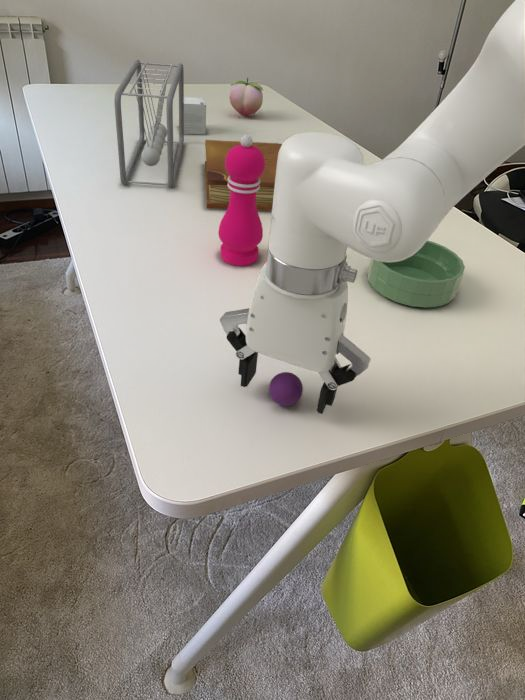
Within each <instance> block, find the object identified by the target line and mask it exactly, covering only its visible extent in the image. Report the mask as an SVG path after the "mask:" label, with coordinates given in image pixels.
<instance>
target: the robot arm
mask: <svg viewBox="0 0 525 700" xmlns="http://www.w3.org/2000/svg"><path fill="white" fill-rule="evenodd" d="M281 144H282V146H281V148H280V150H279V153H278V159H277V167H276V177H275V186H274V196H273V206H272V211H271V217H270V226H269V227H270V228H269V236H268V247H267V256H266V262H265V263H264V264H263V265H262V268H261V269H260V270H259V274H258V276H257V278H256V282H255V285H254V289H253V292H252V295H251V301H250V305H249V307H248V308H241V309H235V310H230V311H225V312H224V313H223V314H222V316H221V317H220V318H219V322H220V325H221V327H222V329H223V332H224V333H226V340H227V341H228V343H229V344H230V345H231V347H232V348H233V349H234V351H236V352H235V356H236V358H237V359H238V372H237V373H238V375H240V387H243V388H246V387H247V388H248V386H249V384H250V383H251V381H252V380H253V378H254V377H255V376H256V373H257V365H258V357H259V354H260V355H263V356H265V357H269V358H271V359H275V360H277V361H279V362H280V361H281V362H284V363H286V364H290V365H293V366H295V367H299V368H302V369H305V370H308V371H313V372H316V373H318V374H319V376H320V377H321V379H322V380H323V383H322V386H321V387H320V391H319V397H318V402H317V406H316V412H317V414H321V415H323V414H324V412H325V410H326V407H327V406H329V407H332V405H333V404H334V402H335V399H336V396H337V395H336V394H337V390H338V387H340V386H342V385H345V384H349V383H351V382H353V381H354V380H355V379H356V377H358V376H360V375H361V374H362V373H363V372H365V371H366V370H367V369H368V368H369V366H370V363H371V357H370V356H369V355H368V354H366V353H365V352H364V351H363V350H362V349H361V348H360V347H358V346H357V345H356V344H355V343H353V342H352V340H350V339H349V338H348V337H346V336H345V329H346V323H347V322H346V321H347V313H348V302H349V287H348V286H349V285H348V283H352V284H355V281H356V279H357V275H358V269H356V268H352V267H351V266H349V265H348V261H347V259H348V255H347V251H348V248H350V249H351V250H353V251H355V252H356V253H358V254H360V255H361V256H364V257H366V258H368V259H370V260H371V259H373V260H376V261H381V262H398V261H402V260H405V259H407V258H409V257H411V256H413V255H414V254H415V253H416V252H418V251H419V250H420V249H421V248H422V247H423V245H424V244H425V243H426V241H427V240H428V241H429V239H430V238H431V236H432V235H433V234H434V232H435V231H436V230H437V229H438V227H439V226H440V224H441V223H442V222H443V220H444V219H445V218H446V217H447V215H448V214H449V213H450V212H451V210H452V209H453V208H454V207H455V206H456V205H457V204H458V203H459V202H461V200H462V199H463V198H465V197H466V195H468V194H469V193H470V192H471V191H472V190H473V189H474V188H476V187H477V186H478V185H479V184H480V183H481V182H483V181H484V180H485V179H486V178H487V177H488V176H490V174H491V173H493V172H494V171H496V169H497V168H498V167H500V166H501V165H502V164H503V163H504V162H506V160H508V159H509V158H510V157H512V156H513V155H514V154H515V153H517V152H518V151H519V150H520V149H522V148H524V147H525V0H514V1H513V2H512V3H511V4H510V5H509V7H508V8H507V9H506V10H504V12H503V13H502V15H500V17H499V19H498V20H497V21H496V23H495V24H494V26H493V27H492V28H491V30H490V32H489V33H488V35H487V37H486V39H485V41H484V43H483V46H482V48H481V50H480V53H479V54H478V56H477V58H476V59H475V61H474V62H473V64H472V65H471V67H470V68H469V69H468V71H467V72H466V73H465V74H464V75H463V77H462V78H461V80H460V81H459V82H458V83H457V84H456V85H455V87H454V88H453V89H452V90H451V91H450V92H449V94H447V95H446V97H445V98H444V99H443V100H442V101H441V102H440V103H439V104H438V106H436V107H435V108H434V110H433V111H432V112H431V113H430V114H429V115H428V116H427V117H426V118H425V119H424V120H423V121H422V122H421V123H420V124H419V125H418V127H417V128H416V129H415V130H413V132H412V133H411V134H410V135H409V136H408V137H406V139H405V140H404V141H403V142H402V143H401V144H400V145H399V146H398V147H397V148H396V149H395V150H393V151H391V152H390V153H389V154H388V155H386V156H385V157H384V158H382V159H381V160H380V161H377V162H372V163H368V164H365V163H364V155H363V152H362V151H361V148H360V147H359V146H358V145H357V144H356V143H355V142H353V141H352V140H350V139H348V138H346V137H343V136H340V135H337V134H334V133H328V132H319V131H308V132H307V131H306V132H299V133H296V134H292V135H291V136H289V137H287V138H286V139H285V140H284V141H283V142H282V143H281ZM245 324H246V326H245V327H246V328H245V333H244V331H243V330H242V329H241V328H240V327H239V325H245ZM339 354H340V355H341V356H343V357H344V358H345V359H346V360H348V361H349V362H350V363H349V364H347V365H343V366H342V365H341V363H340V362H339V360H338V357H336V356H337V355H339Z"/></svg>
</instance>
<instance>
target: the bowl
mask: <svg viewBox="0 0 525 700" xmlns="http://www.w3.org/2000/svg"><path fill="white" fill-rule="evenodd" d="M465 269H466V267H465V264H464V262H463V260H462V259H461V257H460V256H458V254H457V253H456V252H454V251H452V250H451V249H449V248H448V247H446V246H444V245H442V244H440V243H437V242H434V241H431V240H429V239H428V240H427V241H426V243H425V244H424V245H423V247H422V248H421V249H420V250H419V251H418V252H416V253H415V254H414V255H413V256H411V257H409V258H407V259H405V260H402V261H398V262H381V261H376V260H373V259H370V262H369V265H368V270H367V280H368V282H369V284H370V285H371V287H372V288H373V289H374V290H375V291H376V292H377V293H379V294H380V295H381V296H383V297H384V298H387V299H389V300H391V301H393V302H395V303H398V304H402V305H406V306H409V307H416V308H417V307H419V308H437V307H441V306H444V305H447V304H449V303H450V302H451V301H452V300H454V299H455V298H456V295H457V292H458V289H459V286H460V284H461V281H462V279H463V276H464V272H465Z"/></svg>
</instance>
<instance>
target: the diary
mask: <svg viewBox="0 0 525 700" xmlns="http://www.w3.org/2000/svg"><path fill="white" fill-rule="evenodd" d="M204 143H205V144H204V148H205V161H204V175H205V195H206V196H205V197H206V209H215V210H227V209H228V205H229V201H230V189H229V188H228V186H227V184H228V177H229V176H230V175H229V173H228V172H227V170H226V167H225V159H226V156H227V154H228V152H229V151H230V149H232V148H233V147H235V146H237V145H241V141H239V140H238V141H237V140H218V139H216V140H215V139H205V141H204ZM282 144H283V143H277V142H276V143H275V142H260V141H259V142H258V141H256V142H255V141H253V143H252V146H254V147H256V148H258V149H259V150H260V151H261V152H262V154H263V155H264V159H265V169H264V172H263V174H262V175H261V176H260V177H259V179H260V189H259V190H258V191H257V193H256V207H257V211H271V212H272V206H273V196H274V186H275V177H276V167H277V159H278V153H279V150H280V148H281V146H282Z"/></svg>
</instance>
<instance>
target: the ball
mask: <svg viewBox="0 0 525 700" xmlns="http://www.w3.org/2000/svg"><path fill="white" fill-rule="evenodd" d="M303 392H304V386H303V382H302V380H301V379H300V378H299V377H298V376H297V375H296V374H294V373H292V372H289V371H283V372H280V373H277V374H276V375H274V376H273V378H271V380H270V382H269V385H268V393H269V396H270V398H271V400H272V401H273V402H274V403H276V404H277V405H279V406H282V407H290V406H293V405H295V404H297V403H298V402H299V401H300V400H301V398H302V395H303Z"/></svg>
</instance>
